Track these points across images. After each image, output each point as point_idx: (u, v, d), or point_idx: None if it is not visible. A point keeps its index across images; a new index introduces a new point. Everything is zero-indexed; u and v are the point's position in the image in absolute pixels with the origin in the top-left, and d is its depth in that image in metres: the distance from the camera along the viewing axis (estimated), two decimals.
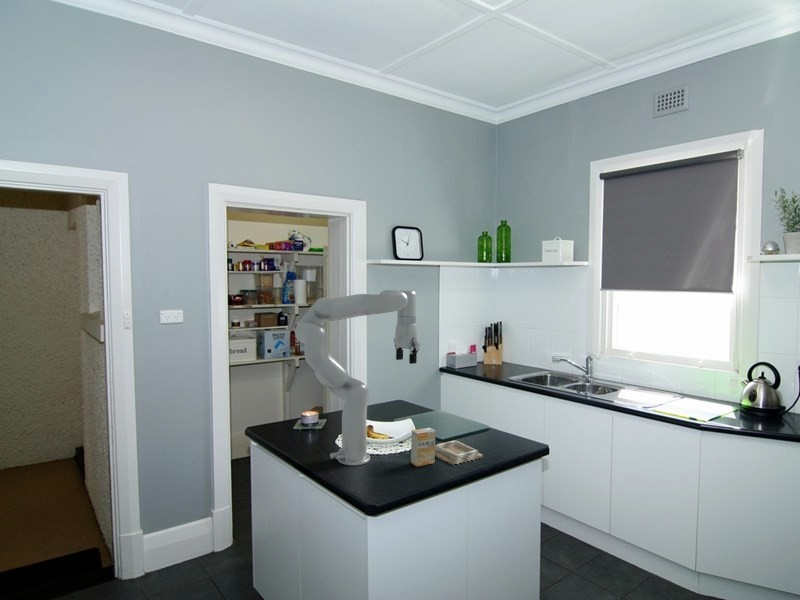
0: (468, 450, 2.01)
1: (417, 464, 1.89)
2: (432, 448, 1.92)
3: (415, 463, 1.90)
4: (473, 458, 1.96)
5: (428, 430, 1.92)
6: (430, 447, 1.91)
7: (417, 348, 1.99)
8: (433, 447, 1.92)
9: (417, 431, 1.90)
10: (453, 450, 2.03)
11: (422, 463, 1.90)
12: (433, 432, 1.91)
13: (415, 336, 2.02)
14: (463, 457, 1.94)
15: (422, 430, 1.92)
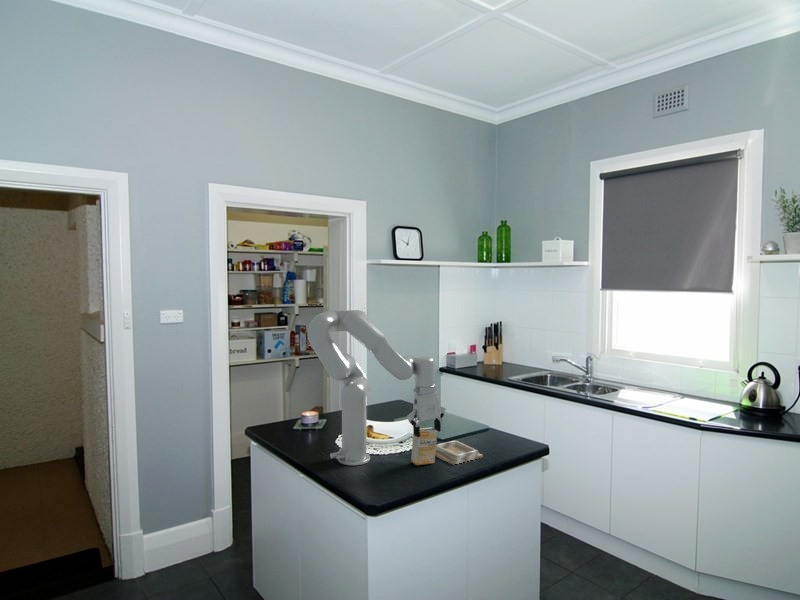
0: (468, 450, 2.01)
1: (417, 463, 1.89)
2: (433, 448, 1.92)
3: (415, 461, 1.90)
4: (473, 458, 1.96)
5: (430, 429, 1.92)
6: (431, 446, 1.91)
7: None
8: (434, 447, 1.92)
9: None
10: (453, 450, 2.03)
11: (422, 462, 1.90)
12: (435, 432, 1.92)
13: None
14: (463, 457, 1.94)
15: (424, 429, 1.92)
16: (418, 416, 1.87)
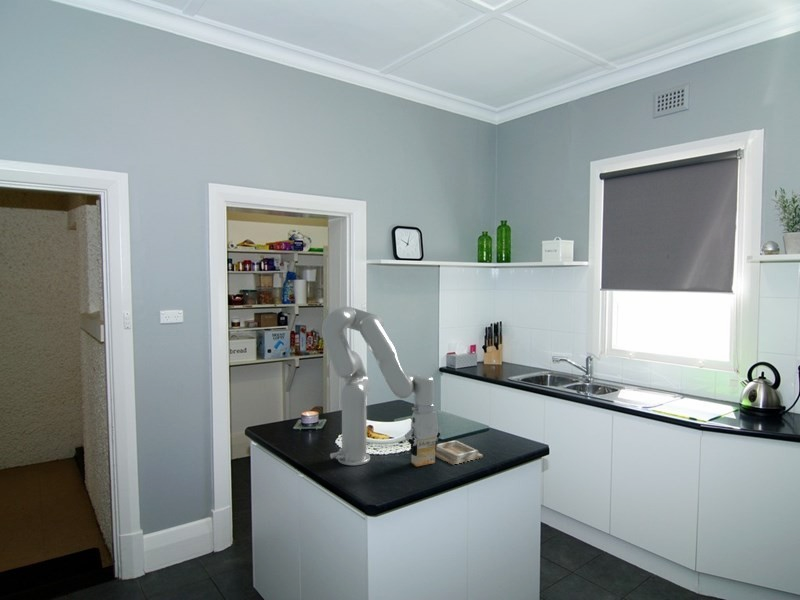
0: (468, 450, 2.01)
1: (417, 464, 1.89)
2: (432, 448, 1.92)
3: (415, 463, 1.90)
4: (473, 458, 1.96)
5: None
6: (430, 447, 1.91)
7: None
8: (433, 447, 1.92)
9: None
10: (453, 450, 2.03)
11: (423, 463, 1.90)
12: None
13: None
14: (463, 457, 1.94)
15: None
16: (415, 435, 1.88)
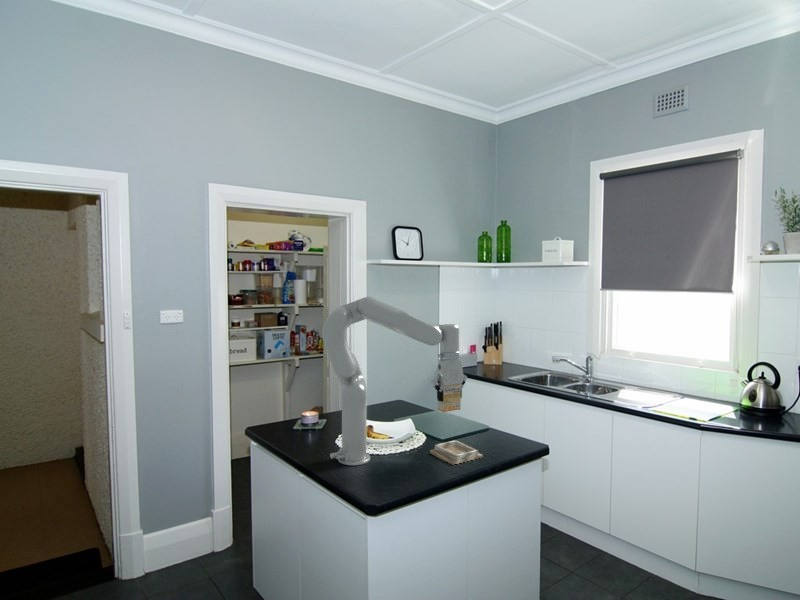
0: (468, 450, 2.01)
1: (444, 409, 1.94)
2: (458, 394, 1.97)
3: (442, 409, 1.95)
4: (473, 458, 1.96)
5: None
6: (456, 393, 1.96)
7: None
8: (459, 394, 1.97)
9: None
10: (453, 450, 2.03)
11: (449, 408, 1.95)
12: None
13: None
14: (463, 457, 1.94)
15: None
16: (442, 381, 1.93)
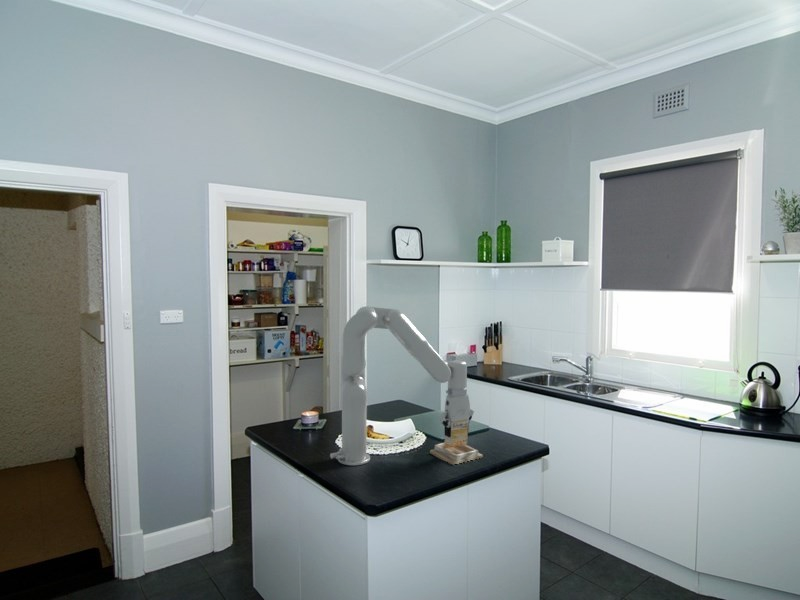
0: (468, 450, 2.01)
1: (451, 445, 1.97)
2: (465, 430, 2.00)
3: (449, 444, 1.98)
4: (473, 458, 1.96)
5: None
6: (463, 428, 1.99)
7: None
8: (466, 429, 2.00)
9: None
10: (453, 450, 2.03)
11: (456, 444, 1.98)
12: None
13: None
14: (463, 457, 1.94)
15: None
16: (449, 417, 1.96)
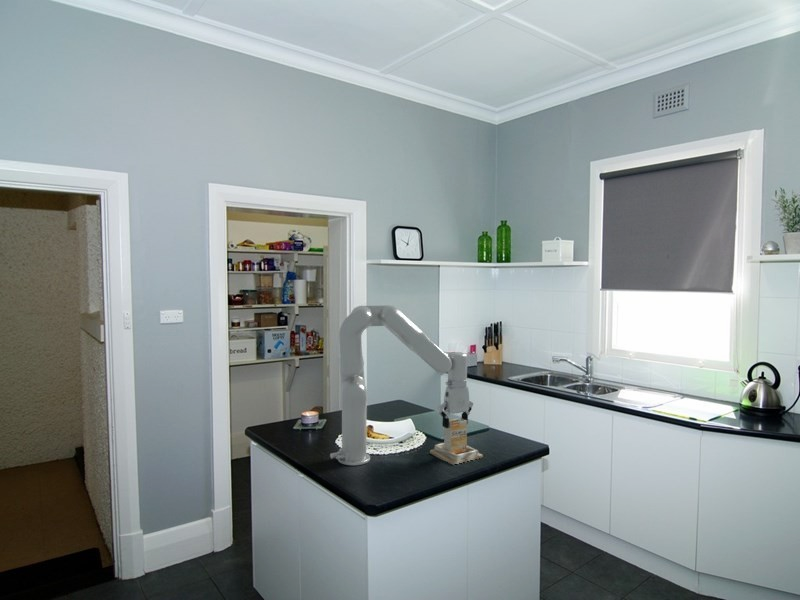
0: (468, 450, 2.01)
1: None
2: (464, 437, 2.00)
3: None
4: (473, 458, 1.96)
5: (460, 420, 2.00)
6: (462, 436, 2.00)
7: None
8: (465, 436, 2.00)
9: (450, 421, 1.99)
10: None
11: (456, 451, 1.99)
12: (465, 422, 2.00)
13: None
14: (463, 457, 1.94)
15: (454, 420, 2.00)
16: (448, 408, 1.95)
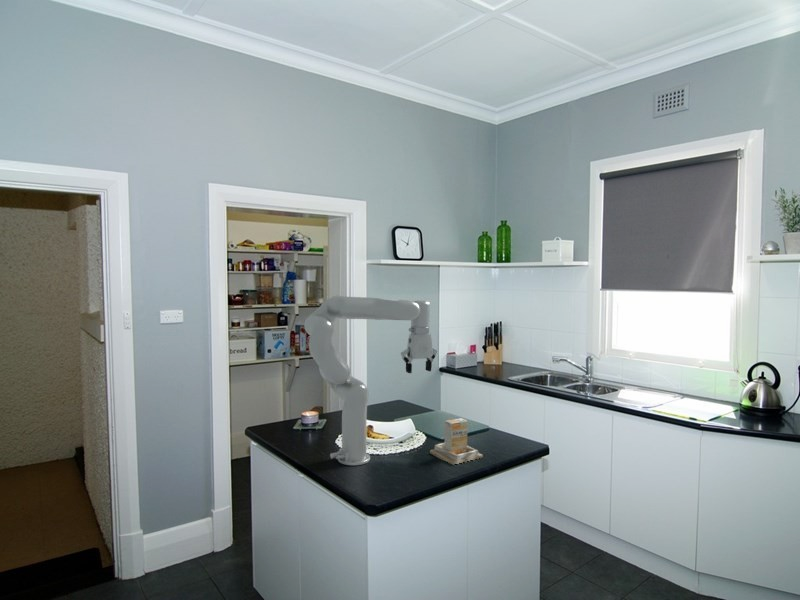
0: (468, 450, 2.01)
1: None
2: (465, 437, 2.00)
3: None
4: (473, 458, 1.96)
5: (461, 420, 2.00)
6: (463, 436, 2.00)
7: None
8: (465, 436, 2.01)
9: (451, 421, 1.99)
10: None
11: (456, 451, 1.99)
12: (466, 422, 2.00)
13: None
14: (463, 457, 1.94)
15: (455, 420, 2.00)
16: (411, 353, 2.02)
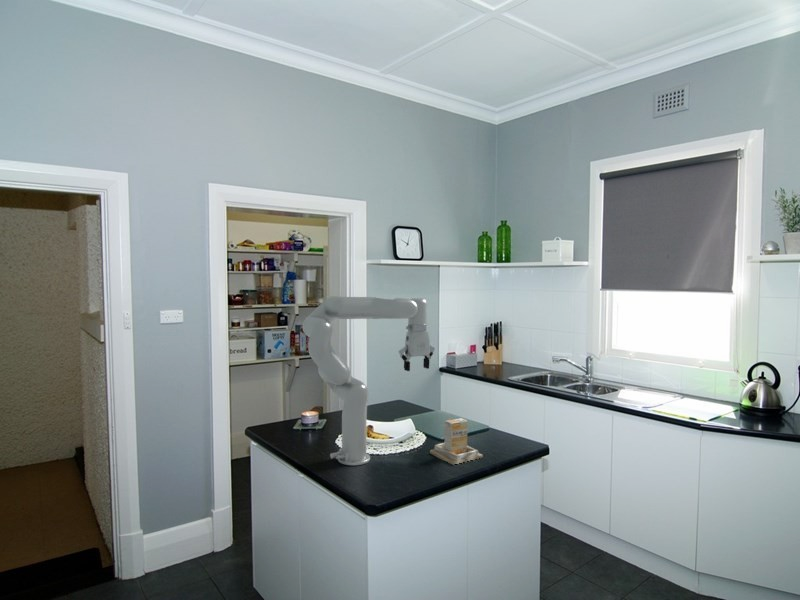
0: (468, 450, 2.01)
1: None
2: (465, 437, 2.00)
3: None
4: (473, 458, 1.96)
5: (461, 420, 2.00)
6: (463, 436, 2.00)
7: None
8: (465, 436, 2.01)
9: (451, 421, 1.99)
10: None
11: (456, 451, 1.99)
12: (466, 422, 2.00)
13: None
14: (463, 457, 1.94)
15: (455, 420, 2.00)
16: (409, 351, 2.02)
